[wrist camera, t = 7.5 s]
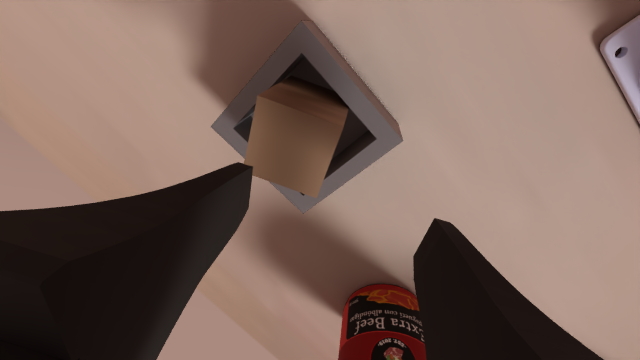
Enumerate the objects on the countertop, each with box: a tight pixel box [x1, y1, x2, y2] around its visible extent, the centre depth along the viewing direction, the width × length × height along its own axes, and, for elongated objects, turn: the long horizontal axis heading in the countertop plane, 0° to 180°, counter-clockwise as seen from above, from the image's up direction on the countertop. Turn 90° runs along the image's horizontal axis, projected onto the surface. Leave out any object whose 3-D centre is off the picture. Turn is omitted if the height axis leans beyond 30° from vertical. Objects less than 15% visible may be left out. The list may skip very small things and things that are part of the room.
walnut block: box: [244, 75, 349, 198], centre depth 16 cm, size 4×4×6 cm
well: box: [211, 20, 403, 214], centre depth 17 cm, size 8×8×3 cm
